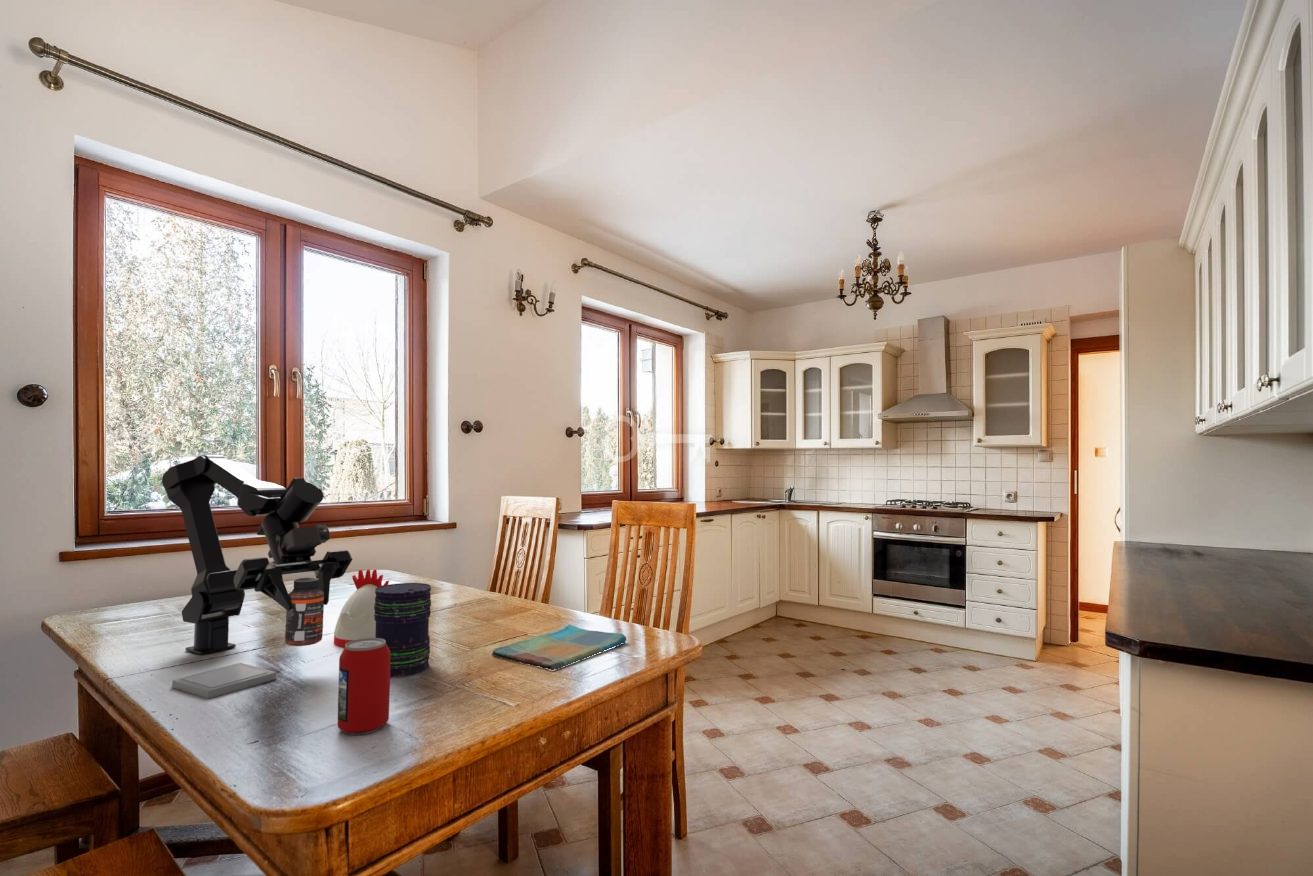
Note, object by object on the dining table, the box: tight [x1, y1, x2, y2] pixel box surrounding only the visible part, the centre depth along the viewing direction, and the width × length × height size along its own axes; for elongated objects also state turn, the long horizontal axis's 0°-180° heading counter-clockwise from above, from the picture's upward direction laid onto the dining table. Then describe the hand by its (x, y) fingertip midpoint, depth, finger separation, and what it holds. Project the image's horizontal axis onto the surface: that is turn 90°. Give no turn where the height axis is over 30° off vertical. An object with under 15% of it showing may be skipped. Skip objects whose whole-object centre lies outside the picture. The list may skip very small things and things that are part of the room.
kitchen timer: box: [333, 569, 390, 648], centre depth 139 cm, size 14×14×15 cm
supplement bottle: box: [284, 577, 325, 647], centre depth 116 cm, size 6×6×11 cm
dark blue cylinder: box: [374, 582, 432, 679], centre depth 119 cm, size 10×10×15 cm
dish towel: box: [491, 623, 627, 670], centre depth 132 cm, size 17×23×2 cm
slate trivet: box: [171, 662, 277, 700], centre depth 110 cm, size 11×11×1 cm
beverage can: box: [337, 638, 391, 735], centre depth 92 cm, size 7×7×12 cm
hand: (308, 606), depth 115 cm, fingers closed on supplement bottle, 6 cm apart
